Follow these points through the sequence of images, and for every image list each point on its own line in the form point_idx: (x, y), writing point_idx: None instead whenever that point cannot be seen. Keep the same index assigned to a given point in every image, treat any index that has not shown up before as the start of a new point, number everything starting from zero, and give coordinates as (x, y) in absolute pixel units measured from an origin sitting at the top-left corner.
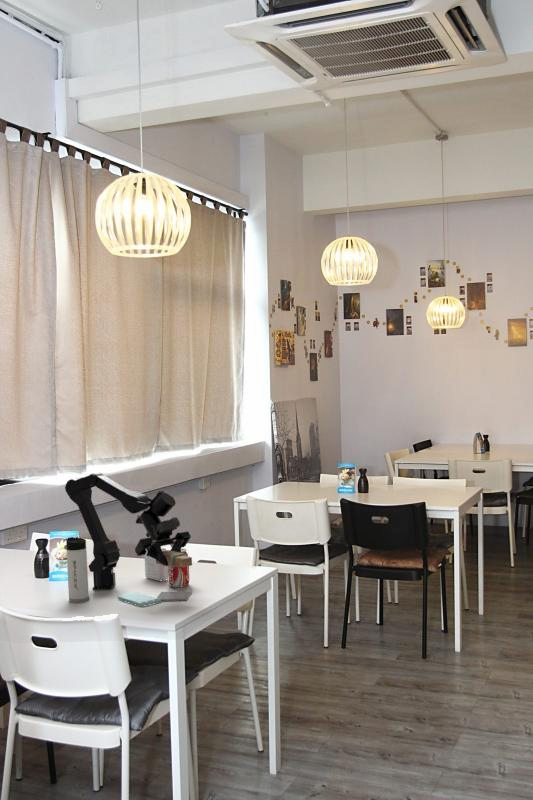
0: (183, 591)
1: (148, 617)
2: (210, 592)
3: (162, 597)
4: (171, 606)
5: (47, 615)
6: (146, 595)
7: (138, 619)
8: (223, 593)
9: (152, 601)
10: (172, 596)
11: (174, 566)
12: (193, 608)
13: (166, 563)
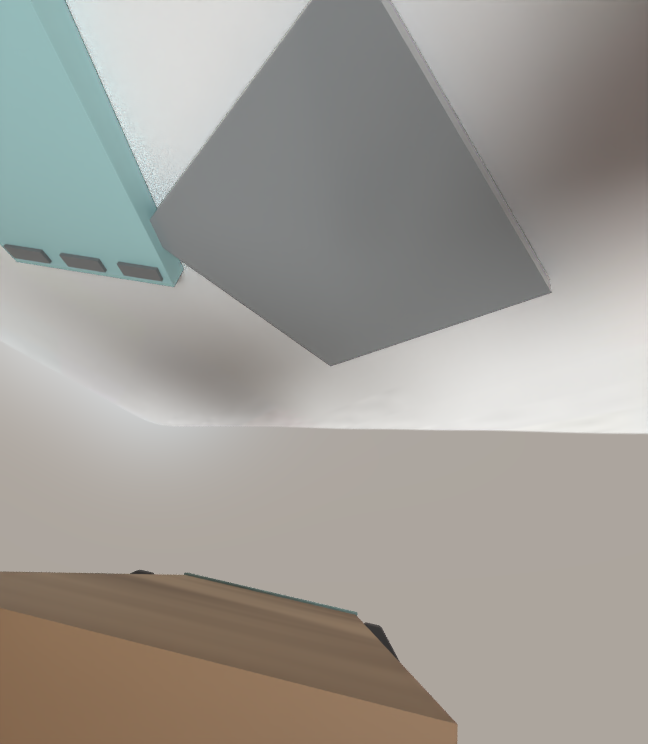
0: (503, 244)
1: (79, 363)
2: (597, 367)
3: (219, 234)
4: (213, 352)
5: None
6: (40, 49)
7: (35, 352)
8: (580, 415)
9: (105, 274)
10: (302, 278)
11: (218, 583)
12: (277, 412)
13: None
